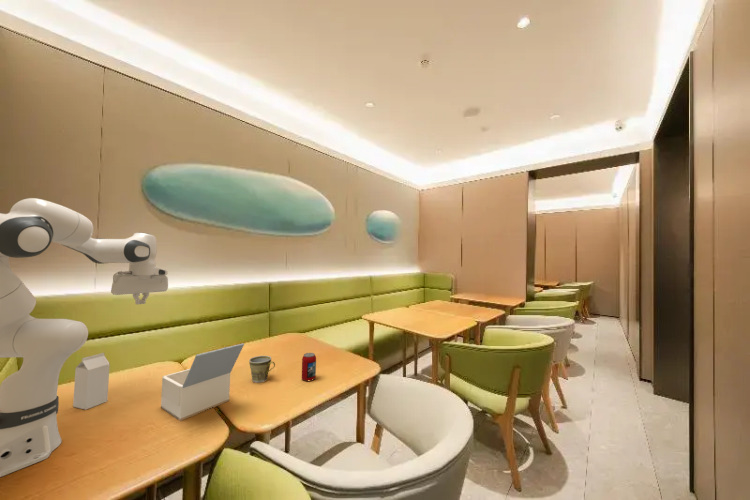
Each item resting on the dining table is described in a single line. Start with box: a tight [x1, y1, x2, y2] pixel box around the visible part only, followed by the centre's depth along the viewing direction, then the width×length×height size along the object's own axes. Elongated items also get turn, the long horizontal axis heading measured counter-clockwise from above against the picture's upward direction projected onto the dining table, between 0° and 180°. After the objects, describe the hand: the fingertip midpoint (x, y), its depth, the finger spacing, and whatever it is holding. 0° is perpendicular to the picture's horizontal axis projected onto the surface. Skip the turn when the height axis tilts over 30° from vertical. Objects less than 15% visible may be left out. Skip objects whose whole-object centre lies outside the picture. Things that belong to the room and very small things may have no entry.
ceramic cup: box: [248, 355, 276, 384], centre depth 138 cm, size 13×10×10 cm
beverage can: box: [301, 352, 317, 382], centre depth 140 cm, size 7×7×12 cm
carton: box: [160, 368, 231, 422], centre depth 114 cm, size 16×19×12 cm
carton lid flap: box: [183, 342, 245, 388], centre depth 107 cm, size 16×18×1 cm
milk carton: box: [72, 352, 111, 410], centre depth 112 cm, size 7×7×19 cm
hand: (140, 303), depth 120 cm, fingers closed
